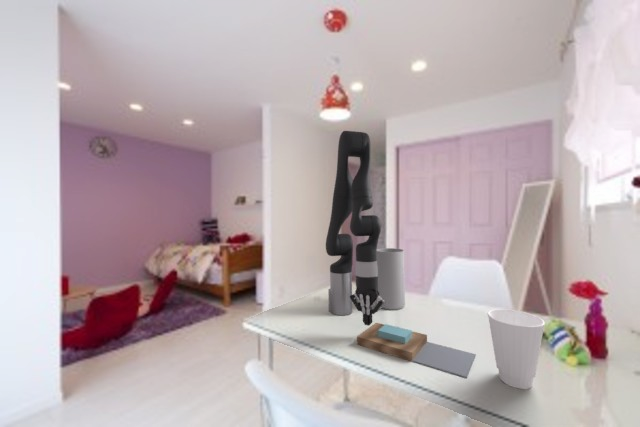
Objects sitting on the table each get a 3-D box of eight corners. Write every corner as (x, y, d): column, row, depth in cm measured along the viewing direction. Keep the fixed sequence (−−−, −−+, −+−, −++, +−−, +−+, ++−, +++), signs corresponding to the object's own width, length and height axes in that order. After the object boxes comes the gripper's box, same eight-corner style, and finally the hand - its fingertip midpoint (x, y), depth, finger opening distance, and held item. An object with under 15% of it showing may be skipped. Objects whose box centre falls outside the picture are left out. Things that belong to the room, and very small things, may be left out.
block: (357, 344, 92) (356, 336, 92) (376, 329, 103) (376, 322, 103) (412, 361, 81) (412, 352, 81) (427, 342, 92) (427, 334, 92)
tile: (378, 336, 92) (377, 330, 92) (385, 330, 97) (385, 324, 97) (405, 344, 87) (405, 337, 87) (412, 336, 91) (412, 330, 91)
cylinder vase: (372, 307, 126) (371, 251, 126) (381, 299, 137) (381, 247, 137) (400, 312, 120) (399, 253, 120) (408, 303, 130) (407, 249, 130)
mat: (412, 361, 81) (412, 360, 81) (427, 342, 92) (427, 341, 92) (466, 378, 73) (466, 377, 73) (475, 355, 84) (475, 354, 84)
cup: (497, 362, 80) (496, 305, 80) (550, 381, 71) (550, 317, 71) (480, 379, 72) (480, 316, 72) (538, 402, 63) (538, 331, 63)
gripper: (344, 273, 98) (345, 323, 98) (379, 278, 90) (381, 332, 90) (355, 270, 104) (356, 317, 104) (389, 273, 96) (390, 325, 96)
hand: (367, 324), depth 97 cm, fingers closed
